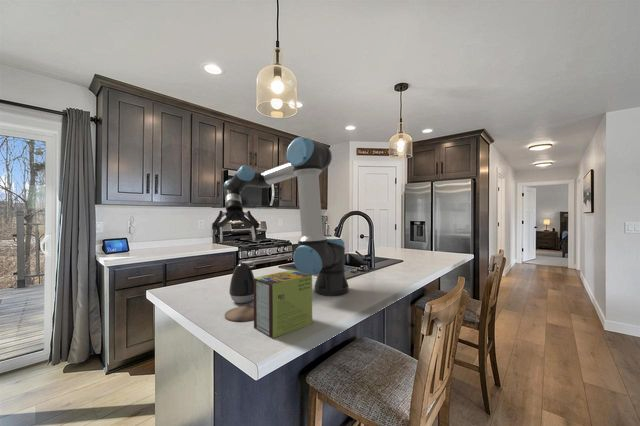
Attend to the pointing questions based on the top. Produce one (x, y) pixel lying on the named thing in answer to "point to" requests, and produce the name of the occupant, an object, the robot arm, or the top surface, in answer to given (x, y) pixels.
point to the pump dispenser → (242, 284)
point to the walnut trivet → (240, 314)
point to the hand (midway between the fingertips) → (238, 240)
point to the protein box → (282, 302)
